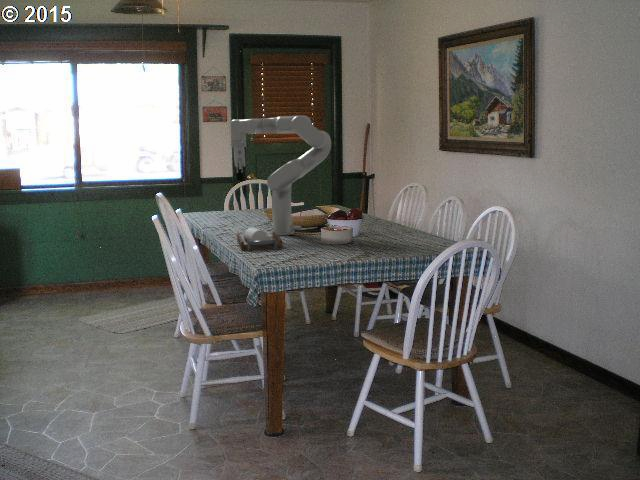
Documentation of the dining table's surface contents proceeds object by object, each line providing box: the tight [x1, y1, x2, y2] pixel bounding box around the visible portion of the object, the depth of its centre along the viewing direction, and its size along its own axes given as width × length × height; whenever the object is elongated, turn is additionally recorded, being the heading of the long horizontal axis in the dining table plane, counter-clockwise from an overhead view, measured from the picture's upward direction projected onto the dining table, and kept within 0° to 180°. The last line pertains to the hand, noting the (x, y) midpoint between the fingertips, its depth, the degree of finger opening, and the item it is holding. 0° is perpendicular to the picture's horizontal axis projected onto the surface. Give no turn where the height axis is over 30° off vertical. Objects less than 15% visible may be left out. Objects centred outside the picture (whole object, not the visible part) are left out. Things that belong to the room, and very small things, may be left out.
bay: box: [236, 230, 283, 252], centre depth 358 cm, size 18×30×4 cm, turn 10°
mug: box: [243, 227, 273, 244], centre depth 358 cm, size 12×10×8 cm
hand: (239, 180), depth 392 cm, fingers closed
